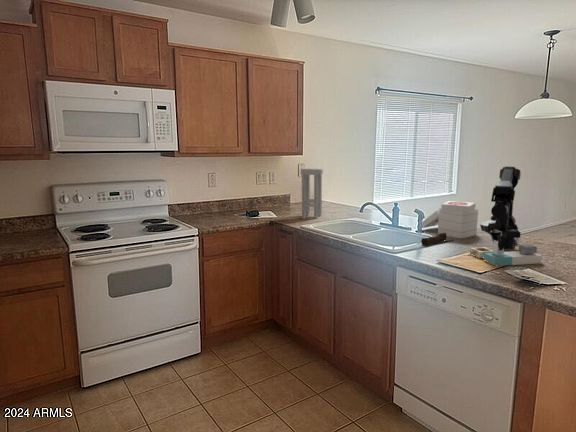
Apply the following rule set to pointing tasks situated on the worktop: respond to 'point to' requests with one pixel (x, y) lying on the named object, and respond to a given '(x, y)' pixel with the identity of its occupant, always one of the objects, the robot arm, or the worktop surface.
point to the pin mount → (480, 251)
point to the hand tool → (434, 239)
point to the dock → (513, 258)
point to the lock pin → (497, 249)
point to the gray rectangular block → (527, 249)
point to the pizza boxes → (455, 219)
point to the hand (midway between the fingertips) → (498, 249)
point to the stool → (306, 191)
